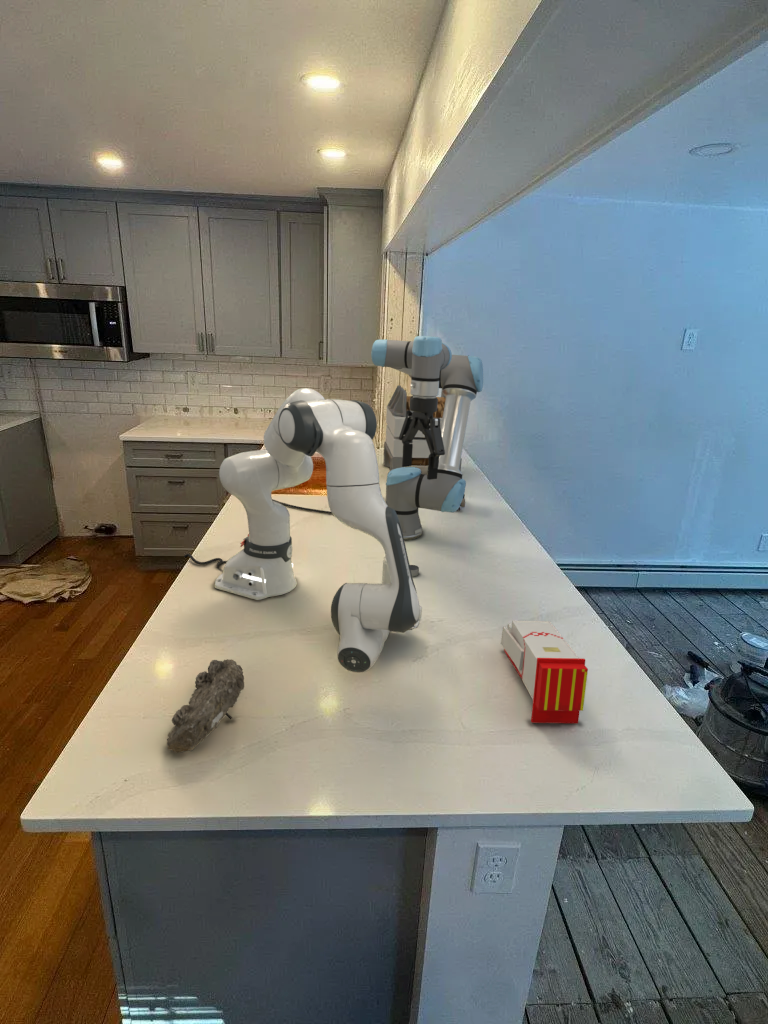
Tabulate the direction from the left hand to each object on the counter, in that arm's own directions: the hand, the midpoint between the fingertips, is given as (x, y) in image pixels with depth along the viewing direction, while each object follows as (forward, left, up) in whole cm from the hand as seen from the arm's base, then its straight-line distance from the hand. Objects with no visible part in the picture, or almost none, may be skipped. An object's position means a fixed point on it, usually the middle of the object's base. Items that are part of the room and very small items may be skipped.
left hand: (386, 595), depth 144 cm
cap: (+2, +27, -4) cm, 28 cm away
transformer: (-16, +137, -6) cm, 138 cm away
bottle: (0, +7, -6) cm, 10 cm away
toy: (+37, -16, -6) cm, 41 cm away
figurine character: (+7, +93, -6) cm, 94 cm away
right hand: (+2, +27, +26) cm, 37 cm away
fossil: (-23, -46, -6) cm, 52 cm away
